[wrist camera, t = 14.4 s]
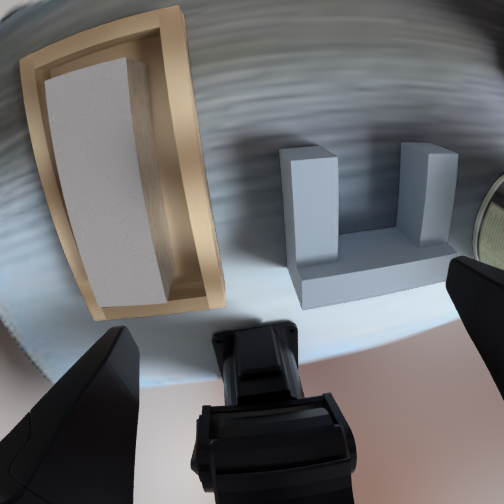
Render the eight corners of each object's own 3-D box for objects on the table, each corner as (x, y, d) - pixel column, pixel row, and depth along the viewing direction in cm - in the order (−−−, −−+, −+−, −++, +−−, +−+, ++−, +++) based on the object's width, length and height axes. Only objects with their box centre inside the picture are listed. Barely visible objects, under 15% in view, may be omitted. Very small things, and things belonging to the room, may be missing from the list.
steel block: (175, 263, 19) (167, 303, 16) (116, 269, 19) (98, 307, 16) (147, 64, 14) (126, 57, 10) (79, 80, 13) (44, 81, 10)
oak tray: (224, 283, 21) (226, 307, 19) (104, 298, 21) (94, 320, 19) (184, 16, 13) (178, 5, 11) (41, 60, 13) (19, 59, 11)
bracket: (419, 247, 22) (451, 279, 18) (287, 268, 21) (302, 310, 17) (429, 142, 18) (472, 159, 14) (278, 149, 17) (296, 167, 14)
